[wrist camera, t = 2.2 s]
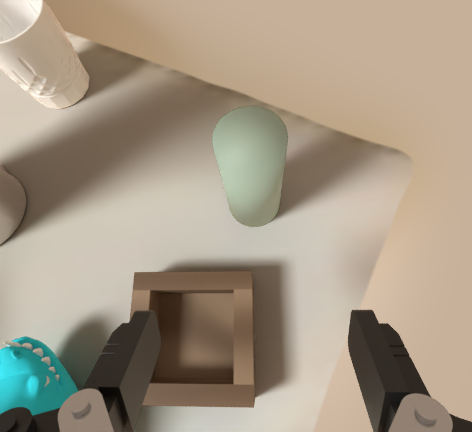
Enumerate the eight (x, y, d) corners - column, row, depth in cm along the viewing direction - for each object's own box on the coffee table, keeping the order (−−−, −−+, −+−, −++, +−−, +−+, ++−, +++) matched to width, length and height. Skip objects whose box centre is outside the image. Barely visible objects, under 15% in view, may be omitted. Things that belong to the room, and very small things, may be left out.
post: (280, 226, 32) (290, 170, 21) (229, 227, 32) (211, 173, 21) (278, 179, 34) (285, 104, 22) (229, 181, 34) (212, 107, 23)
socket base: (254, 397, 27) (253, 407, 24) (138, 396, 28) (121, 405, 25) (253, 277, 31) (251, 270, 27) (148, 278, 31) (134, 272, 28)
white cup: (35, 64, 41) (-32, -14, 32) (96, 56, 41) (47, -25, 32) (28, 117, 39) (-48, 49, 29) (93, 109, 38) (37, 38, 29)
